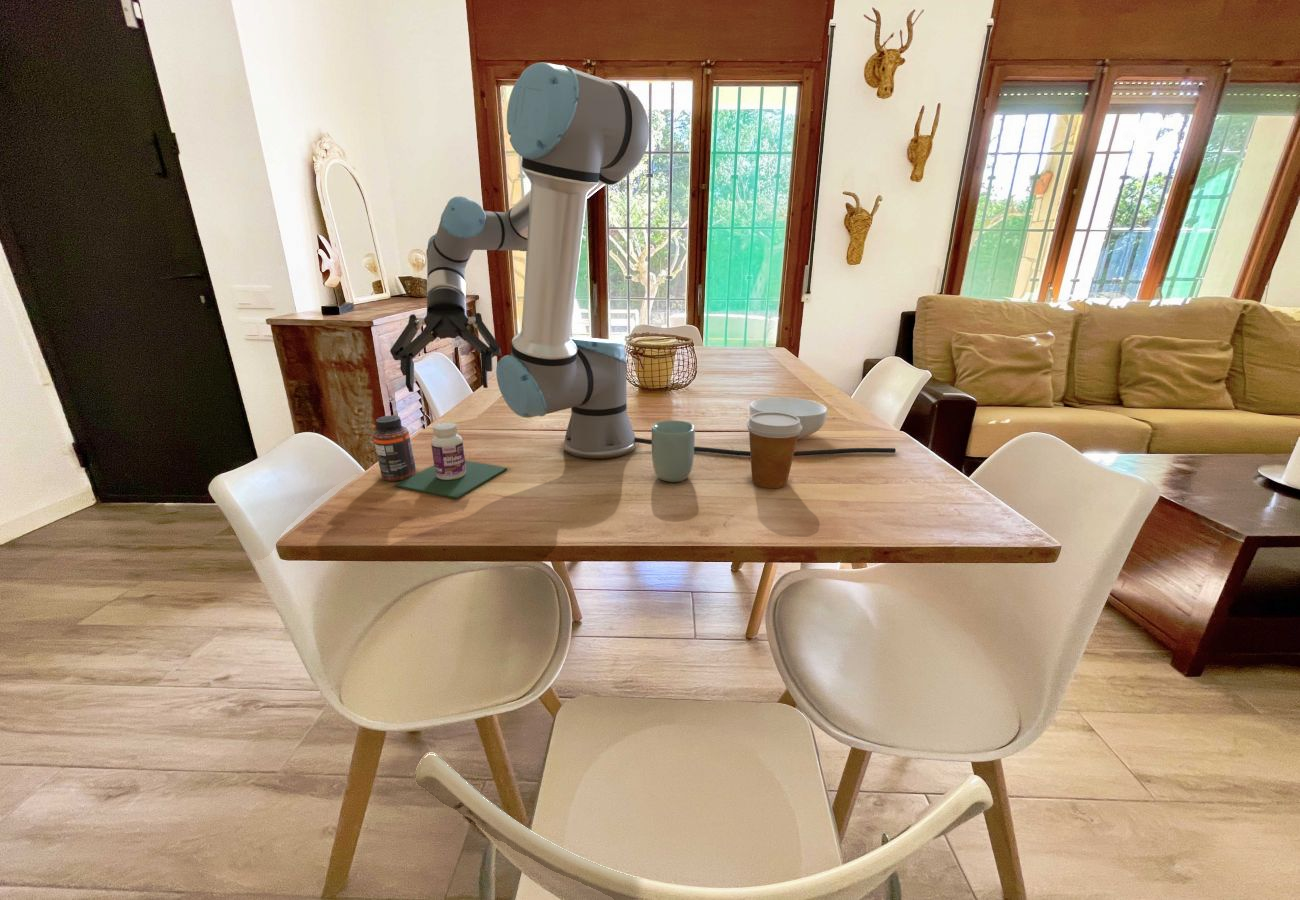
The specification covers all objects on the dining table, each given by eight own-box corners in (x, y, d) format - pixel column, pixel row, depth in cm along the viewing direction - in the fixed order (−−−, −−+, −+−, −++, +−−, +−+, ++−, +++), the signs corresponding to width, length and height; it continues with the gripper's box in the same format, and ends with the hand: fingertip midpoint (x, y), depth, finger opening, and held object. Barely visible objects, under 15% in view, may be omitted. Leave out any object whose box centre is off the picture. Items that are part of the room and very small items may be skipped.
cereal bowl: (832, 431, 121) (835, 402, 119) (811, 452, 108) (815, 420, 106) (763, 419, 130) (765, 392, 127) (736, 438, 117) (738, 408, 114)
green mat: (507, 469, 100) (507, 467, 99) (456, 499, 87) (456, 497, 87) (449, 459, 104) (449, 457, 104) (394, 486, 92) (394, 484, 92)
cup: (693, 470, 99) (695, 420, 96) (692, 487, 92) (694, 434, 88) (653, 469, 100) (653, 419, 96) (649, 485, 93) (649, 432, 89)
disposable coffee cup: (798, 474, 97) (804, 413, 93) (794, 495, 89) (801, 429, 84) (747, 468, 100) (751, 409, 96) (738, 488, 91) (742, 423, 87)
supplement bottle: (409, 467, 101) (399, 411, 97) (421, 475, 97) (411, 418, 93) (377, 475, 97) (365, 418, 93) (388, 485, 93) (376, 425, 89)
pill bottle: (448, 483, 93) (441, 432, 89) (430, 477, 95) (422, 427, 92) (473, 473, 97) (466, 424, 93) (454, 467, 99) (447, 419, 96)
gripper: (510, 309, 113) (516, 392, 105) (386, 312, 108) (382, 400, 99) (507, 285, 106) (513, 372, 98) (375, 287, 101) (370, 379, 93)
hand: (447, 386), depth 99 cm, fingers open, 13 cm apart
